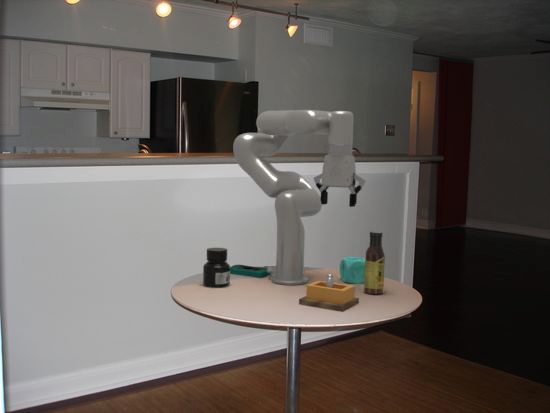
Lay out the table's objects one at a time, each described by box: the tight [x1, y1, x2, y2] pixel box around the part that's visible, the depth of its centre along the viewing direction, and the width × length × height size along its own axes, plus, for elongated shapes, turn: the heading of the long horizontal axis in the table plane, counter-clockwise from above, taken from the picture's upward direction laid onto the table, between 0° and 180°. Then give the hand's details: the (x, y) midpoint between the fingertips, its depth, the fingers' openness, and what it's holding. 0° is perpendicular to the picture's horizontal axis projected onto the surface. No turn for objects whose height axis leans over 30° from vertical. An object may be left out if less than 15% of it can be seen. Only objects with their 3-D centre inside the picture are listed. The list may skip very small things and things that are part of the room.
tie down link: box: [305, 280, 356, 305], centre depth 179 cm, size 12×8×4 cm, turn 60°
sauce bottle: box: [363, 230, 386, 295], centre depth 193 cm, size 6×6×20 cm
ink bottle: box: [202, 247, 231, 288], centre depth 199 cm, size 10×9×12 cm
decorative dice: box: [339, 256, 366, 285], centre depth 210 cm, size 8×8×8 cm
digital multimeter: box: [230, 264, 272, 279], centre depth 218 cm, size 7×15×3 cm, turn 61°
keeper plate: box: [298, 273, 360, 313], centre depth 179 cm, size 14×12×9 cm
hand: (338, 205), depth 190 cm, fingers open, 9 cm apart
